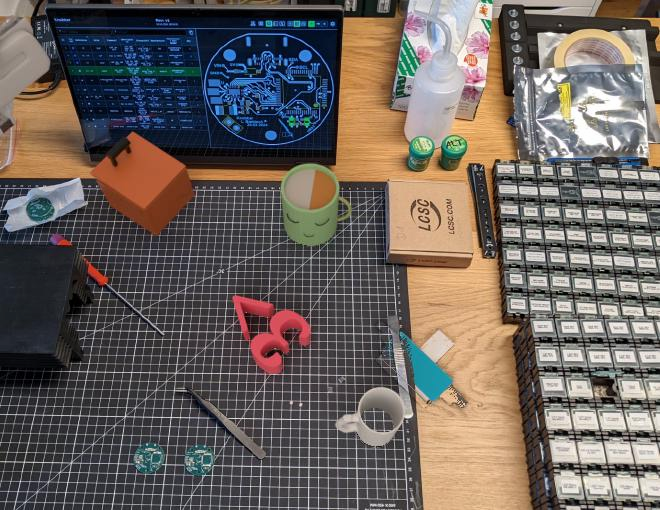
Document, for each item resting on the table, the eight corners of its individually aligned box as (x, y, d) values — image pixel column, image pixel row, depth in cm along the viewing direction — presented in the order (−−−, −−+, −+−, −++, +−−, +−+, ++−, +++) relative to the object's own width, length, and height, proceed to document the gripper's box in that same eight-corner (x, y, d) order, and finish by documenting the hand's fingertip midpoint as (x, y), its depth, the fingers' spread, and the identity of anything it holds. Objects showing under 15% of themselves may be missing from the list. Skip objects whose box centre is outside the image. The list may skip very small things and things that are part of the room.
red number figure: (216, 326, 108) (211, 315, 103) (258, 287, 111) (255, 275, 107) (273, 381, 103) (271, 372, 99) (315, 339, 107) (315, 328, 102)
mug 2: (391, 404, 102) (399, 383, 91) (399, 445, 99) (409, 429, 88) (330, 413, 101) (332, 394, 90) (337, 455, 98) (340, 440, 87)
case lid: (90, 174, 110) (83, 160, 106) (133, 133, 114) (128, 118, 110) (144, 211, 108) (139, 197, 104) (186, 168, 112) (182, 153, 108)
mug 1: (279, 244, 115) (276, 210, 105) (288, 197, 120) (285, 160, 109) (347, 252, 115) (350, 219, 104) (352, 204, 120) (356, 168, 109)
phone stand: (490, 379, 104) (493, 376, 103) (443, 428, 100) (445, 426, 99) (403, 299, 111) (404, 295, 109) (356, 343, 107) (356, 339, 105)
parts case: (110, 206, 118) (95, 180, 111) (149, 167, 123) (138, 139, 115) (156, 236, 116) (145, 211, 108) (194, 195, 120) (186, 168, 112)
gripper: (4, -3, 81) (43, 74, 94) (-129, 94, 73) (-68, 164, 85) (39, 18, 80) (74, 92, 92) (-94, 118, 72) (-36, 186, 84)
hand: (5, 127), depth 89 cm, fingers closed
